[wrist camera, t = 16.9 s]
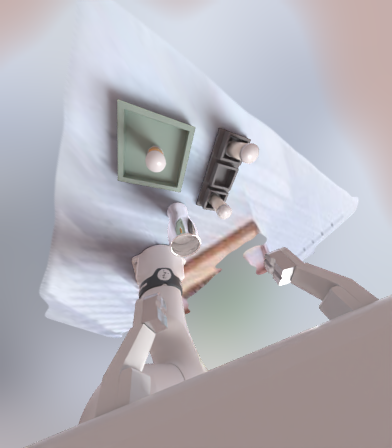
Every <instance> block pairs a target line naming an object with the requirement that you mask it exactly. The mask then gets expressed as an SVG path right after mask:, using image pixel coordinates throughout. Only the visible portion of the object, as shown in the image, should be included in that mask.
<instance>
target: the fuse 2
mask: <svg viewBox="0 0 392 448" xmlns="http://www.w3.org/2000/svg"><path fill="white" fill-rule="evenodd" d="M225 154H226V155H227V156H229V157H233V158H236V159H238V160H241V161H242V162H245V163H247V164H250V163H252V162H254V161H255V160H256V159H257V157H258V154H259V148H258V146H257V145H256V144H252V143H242V142H237V141H233V140H231V141H228V144H227V147H226V150H225Z"/></svg>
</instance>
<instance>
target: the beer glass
mask: <svg viewBox="0 0 392 448" xmlns="http://www.w3.org/2000/svg"><path fill="white" fill-rule="evenodd" d="M167 215H168V218H169V223H168V230H167V234H168V241H169V245H170V250H171V252H172V253H173V254H174V255H176V256H179V257H187V256H190V255H193V254H194V253H196V252H197V251H198V250H199V248H200V245H201V241H200V238H199V234H198V231H197V228H196V226H195V224H194V222H193V221H192V219H191V218H190V217H189V216H188V210H187V207H186V206H185V205H184V204H183V203H180V202H176V203H173V204H171V205H170V206H169V207H168V209H167Z"/></svg>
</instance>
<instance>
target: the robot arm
mask: <svg viewBox="0 0 392 448" xmlns="http://www.w3.org/2000/svg"><path fill="white" fill-rule="evenodd" d="M264 257H265V258H266V259H265V260H264V266H265V268H266V270H267V271H268V272H269V273H270V274H273V279H274V280H275V281H276V282H277V283H278V285H279V286H280V285H283V284H286V283H289V282H290V283H292V284H294V285H296V286H297V287H299V288H301V289H303V290H305V291H306V292H308V293H310V294H311V295H313V296H315V297H317V298H319V299H321V300H322V302H321V304H320V305H319V309H320V310H321V311H322V312H323V313H324V314H325V315H326V316H327V317H328V319H329V321H327V322H325V323H322V324H320V325H318V326H315V327H313V328H310V329H308V330H305V331H303V332H301V333H298V334H296V335H293V336H291V337H288V338H286V339H284V340H281V341H279V342H276V343H274V344H272V345H269V346H267V347H265V348H262V349H260V350H257V351H255V352H252V353H250V354H248V355H245V356H243V357H240V358H238V359H236V360H233V361H231V362H228V363H226V364H224V365H221V366H219V367H216V368H214V369H212V370H209V371H208V370H207V368H206V367H205V365H204V364H203V362H202V360H201V358H200V356H199V354H198V352H197V350H196V347H195V345H194V343H193V340H192V338H191V335H190V332H189V330H188V327H187V323H186V319H185V314H184V308H183V302H182V284H181V281H182V280H183V278H184V269H183V266H184V264H185V263H186V258H184V257H179V256H176V255H174V254H173V253H172V252H171V250H170V246H169V245H155V246H152V247H149V248H147V249H146V250H144V251H143V252H142V253H141V254H139V255H136V256H134V257H133V258H132V264H133V268H134V273H135V277H136V281H137V284H138V285H139V288H140V290H139V299H138V300H137V301H136V304H135V313H134V321H133V327H132V328H130V330H129V332H128V334H127V336H126V337H125V339H124V341H123V343H122V344H121V346H120V348H119V350H118V352H117V353H116V355H115V357H114V358H113V360H112V362H111V364H110V365H109V367H108V369H107V371H106V373H105V374H104V376H103V379H102V382H101V384H100V385H99V386H98V388H97V389H96V390H95V392H94V393H93V395H92V397H91V398H90V400H89V402H88V403H87V405H86V407H85V409H84V412H83V414H82V416H81V418H80V421H79V424H78V425H77V426H74V427H72V428H70V429H67V430H65V431H62V432H60V433H57V434H55V435H53V436H50V437H48V438H46V439H43V440H41V441H38V442H36V443H33V444H32V445H29V446H26V447H24V448H392V295H390V296H387V297H385V298H382V299H380V300H379V299H377V298H376V297H374V296H373V295H372V294H371V293H369V292H368V291H367V290H365V289H364V288H363V287H361V286H360V285H359V284H357V283H356V282H355V281H353V280H352V279H349V278H346V277H344V276H341V275H339V274H336V273H333V272H330V271H328V270H325V269H322V268H319V267H317V266H314V265H311V264H308V263H303V262H302V261H301V260H300V259H299V258H298V257H296V256H295V255H294V254H293V253H292V252H291V251H289V250H288V249H287V248H285V247H283V248H280V249H277V250H274V251H272V252H269V253H266V254H265V256H264ZM149 352H150V354H151V356H152V359H153V363H154V364H145V362H146V359H147V357H148V354H149Z"/></svg>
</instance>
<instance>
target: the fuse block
mask: <svg viewBox="0 0 392 448" xmlns="http://www.w3.org/2000/svg"><path fill="white" fill-rule="evenodd" d="M231 140H233V141H237V142H242V143H250V141H251V140H250V139H248V138H245V137H243V136H240V135H238V134H235V133H232V132H230V131H227V130H225V129H222V128H219V130H218V134H217V137H216V140H215V144H214V147H213V150H212V153H211V157H210V160H209V163H208V167H207V170H206V173H205V177H204V180H203V183H202V187H201V190H200V193H199V196H198V200H197V203H196V204H197V205H198V206H202V207H203V209H206V210H213V211H215V210H214V208H213V207H212V206H211V204H210V203H209V202H208V200H209V197H210V194H211V193H212V192H213V193H217V194H218V195H219V196H220V198H221V199H222V200H223V201H224V202H225V201H226V199H227V197H228V192H229V191H230V189H231V187H232V184H233V182H234V180H235V177H236V175H237V172H238V170H239V169H238V167H239V165H241V163H242V161H241V160H238V159H236V158H233V157H229V156H227V155H226V154H225V150H226V147H227V144H228V141H231Z"/></svg>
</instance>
